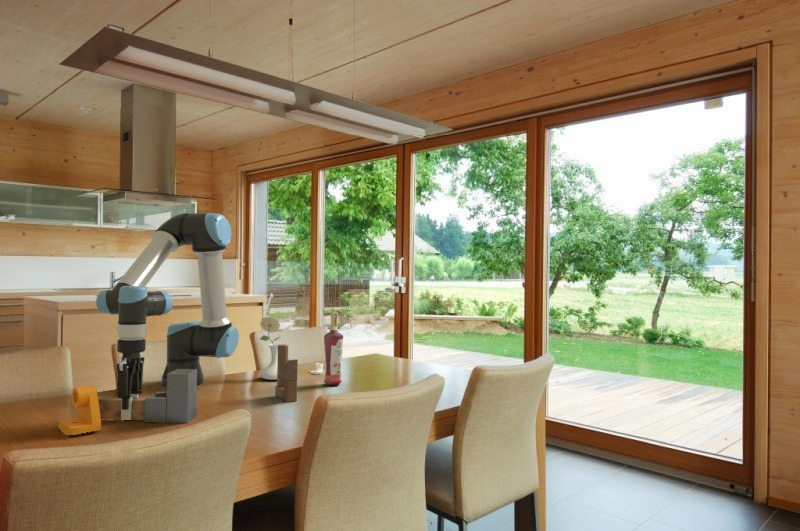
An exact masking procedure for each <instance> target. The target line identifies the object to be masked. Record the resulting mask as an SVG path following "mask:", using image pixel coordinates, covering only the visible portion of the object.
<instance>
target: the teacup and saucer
mask: <svg viewBox="0 0 800 531" xmlns="http://www.w3.org/2000/svg"><path fill="white" fill-rule="evenodd" d="M309 373H310V374H313V375H325V369H324V363H322V362H317V363H315V370H312V371H309Z"/></svg>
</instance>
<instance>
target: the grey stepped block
mask: <svg viewBox="0 0 800 531" xmlns="http://www.w3.org/2000/svg"><path fill="white" fill-rule="evenodd" d="M197 397H198V385H197V369H176V370H174V371H172V372H170V373H168V374H167V386H166V391H156V392H154V397H152V396H146V397H144V398H145V421H144V423H145V422H159V423H158V424H168V423H169V424H173V423H175V424H177V423H178V424H188V423H189V422H191V421H192V420H193V419H194V418H195V417H197V407H198V406H197V404H198V403H197V402H198V401H197V399H198V398H197Z"/></svg>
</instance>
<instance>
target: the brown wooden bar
mask: <svg viewBox="0 0 800 531" xmlns="http://www.w3.org/2000/svg"><path fill="white" fill-rule="evenodd" d="M145 398H146V397H138V398H132V420H145ZM121 399H122V398H118V396H117V397H114V396H113V397H111V396H110V397H105V396H102V397H101V396H98V402H99V410H100V417H101V419H113V420H112V421H122V420H121Z"/></svg>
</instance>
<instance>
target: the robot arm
mask: <svg viewBox="0 0 800 531" xmlns="http://www.w3.org/2000/svg"><path fill="white" fill-rule="evenodd" d="M151 235H152V236H151V240H150V242H149V243H148V244H147V246H146V247H145V248H144V250H143V251H142V252H141V253H140V254H139V255H138V257H137V258H136V259H135V260H134V262H133V263H132V264H131V266H129V268H128V269H127V271H126V272H124V274H123V275H122V277H121V278H120V279H119V280H118V282H117V283H116V284H115V285H114V287H112V289H106V290H105V289H104V290H101V291H100V292H99V293H98V295H97V296H96V299H95V305H96V308H97V310H98V311H99V312H100V313H102V314H106V315H107V314H108V315H112V316H114V315H118V319H117V320H118V321H117V327H116V330H117V338H118V339H117V342H116V343H117V344H116V349H117V352H118V353H119V354H122V356H121V362H120V363H117V364H116V369H117V370H116V371H117V397H118V398H122V399H121V420H120V421H124V420H132V398H139V395H140V394H141V395H142V394H143V378H144V377H143V376H144V363H145V357H144V356H143V357H142V356H141V353H143V352H146V339H145V337H146V336H147V317H156V316H158V317H160V316H163V315H167V314H168V313H169V312H170V311H171V310H172V308H173V305H174V304H173V302H174V301H173V297H172V296H171V295H170V294H169V293H168V292H166V291H161V290H156V291H148V288H147V287H146V286H147V285H148V283H149V282H150V281H151V279H152V278H153V277H154V275H155V274H156V273H157V272H158V270H159V269H160V268H161V267H162V265H163V264H164V262H165V261H166V260H167V258H168V257H169V256H170V255H171V253H175V252H176V251H177V250H179V248H180V247H182V246H191V250H192V252H193V254H195V255H196V256H197V267H198V278H199V280H198V282H199V289H200V290H199V291H200V303H201V314H202V319H201V320H200V321H198V320H197V321H196V320H195V321H186V322H178V323H173V324H169V326H168V328H167V332H166V364H165V367H164V370H163V373H162V376H161V385H162V386H165V387H167V374H168V373H170V372H172V371H174V370H176V369H197V386H198V385H200V384H203V383H204V382H205V376H204V372H203V368H202V366H201V363H200V357H206V358H217V359H219V358H228V357H230V356H232V355H233V354H234V352H235V351H236V349H237V348H238V347H237V346H238V344H239V338H240V336H239V335H240V334H239V333H240V332H239V329H238V328H237V327H236V326H232V319H231V318H229V317H228V314H227V303H226V302H227V301H226V289H225V288H226V287H225V276H224V263H223V253H225V251H226V250H227V248H226V246H228V245H229V244H230V242H231V238H232V228H231V224H230V222H229V220H228V219H227V218H226V217H225V216H224V215H223V214H221V213H213V212H200V213H199V212H198V213H197V212H196V213H195V212H193V213H192V212H191V213H190V212H182V213H179V214H176V215H174V216H172V217H170V218H169V219H167V220H166V221H164V222H163V223H162V224H161V225H159V227H158V228H157V229H156V230H155V231H154V232H153V233H152V234H151Z"/></svg>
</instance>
